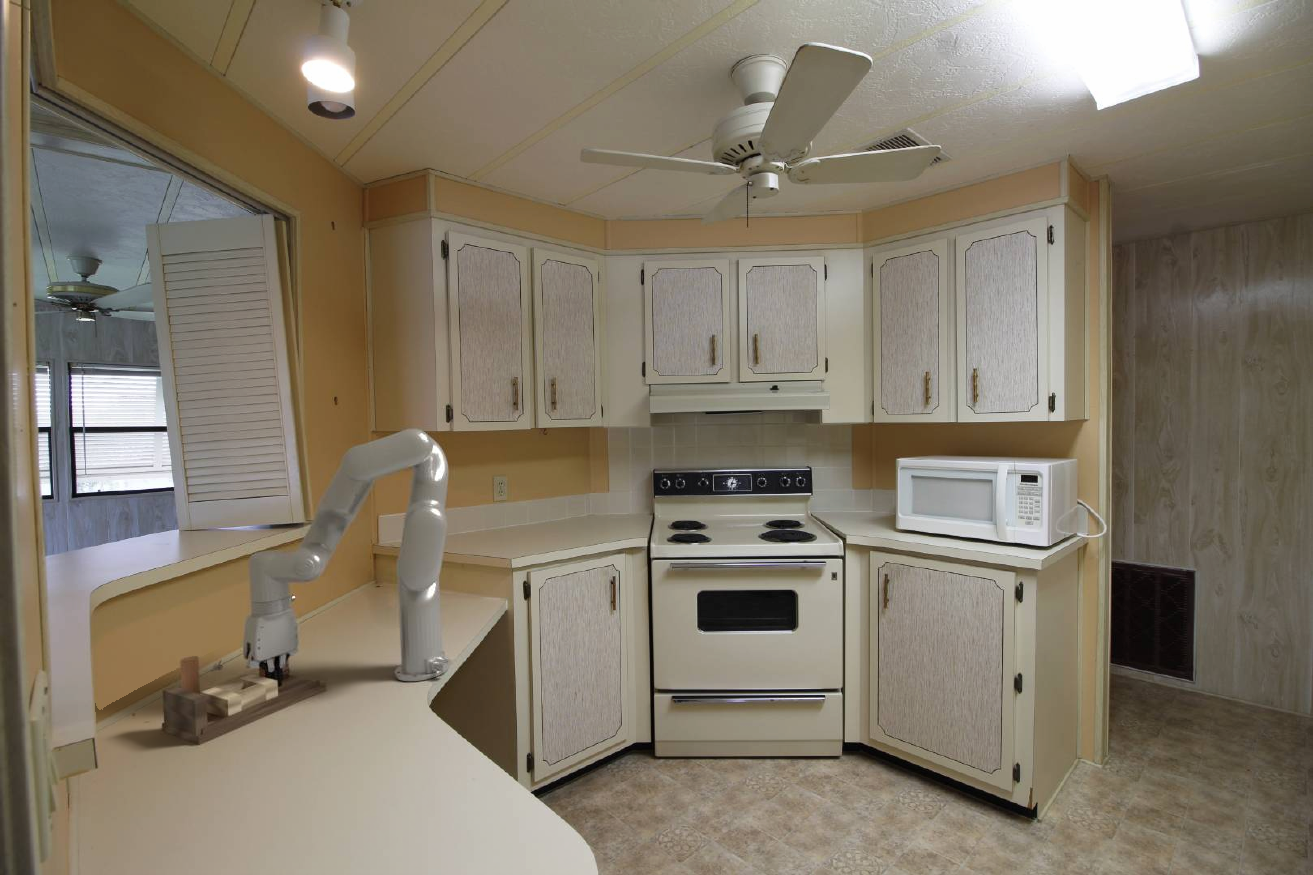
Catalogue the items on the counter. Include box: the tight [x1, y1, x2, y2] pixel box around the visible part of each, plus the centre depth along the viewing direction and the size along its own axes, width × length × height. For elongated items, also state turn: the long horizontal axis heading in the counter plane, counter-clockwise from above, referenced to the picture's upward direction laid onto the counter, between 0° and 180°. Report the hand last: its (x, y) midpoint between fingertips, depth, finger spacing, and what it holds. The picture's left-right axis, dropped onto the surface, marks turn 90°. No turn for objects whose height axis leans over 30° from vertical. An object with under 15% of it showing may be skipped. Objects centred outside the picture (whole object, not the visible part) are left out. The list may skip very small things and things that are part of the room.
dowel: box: [179, 655, 201, 695], centre depth 135 cm, size 3×3×10 cm
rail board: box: [161, 672, 327, 746], centre depth 131 cm, size 14×26×8 cm, turn 153°
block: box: [200, 673, 278, 718], centre depth 129 cm, size 10×10×4 cm
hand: (274, 686), depth 136 cm, fingers closed
